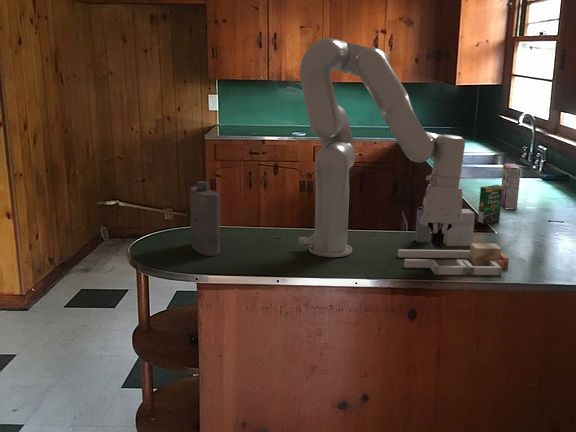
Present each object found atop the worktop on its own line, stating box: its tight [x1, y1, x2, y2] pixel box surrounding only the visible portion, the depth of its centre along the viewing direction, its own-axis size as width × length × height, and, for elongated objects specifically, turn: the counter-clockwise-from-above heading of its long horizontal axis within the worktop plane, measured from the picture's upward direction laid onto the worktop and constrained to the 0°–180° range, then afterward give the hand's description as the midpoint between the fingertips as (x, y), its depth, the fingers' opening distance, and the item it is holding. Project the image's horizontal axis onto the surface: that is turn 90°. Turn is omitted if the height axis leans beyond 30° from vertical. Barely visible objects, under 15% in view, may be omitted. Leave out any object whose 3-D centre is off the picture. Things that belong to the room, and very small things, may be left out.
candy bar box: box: [500, 163, 522, 210], centre depth 243 cm, size 11×5×16 cm, turn 171°
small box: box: [443, 208, 476, 247], centre depth 190 cm, size 8×6×10 cm
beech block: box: [468, 242, 502, 266], centre depth 172 cm, size 7×5×5 cm
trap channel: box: [397, 248, 510, 276], centre depth 169 cm, size 28×16×3 cm, turn 91°
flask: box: [189, 180, 221, 257], centre depth 178 cm, size 15×6×20 cm, turn 26°
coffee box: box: [477, 184, 502, 225], centre depth 217 cm, size 8×3×13 cm, turn 116°
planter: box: [414, 206, 432, 243], centre depth 192 cm, size 4×4×10 cm
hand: (436, 245), depth 171 cm, fingers closed
